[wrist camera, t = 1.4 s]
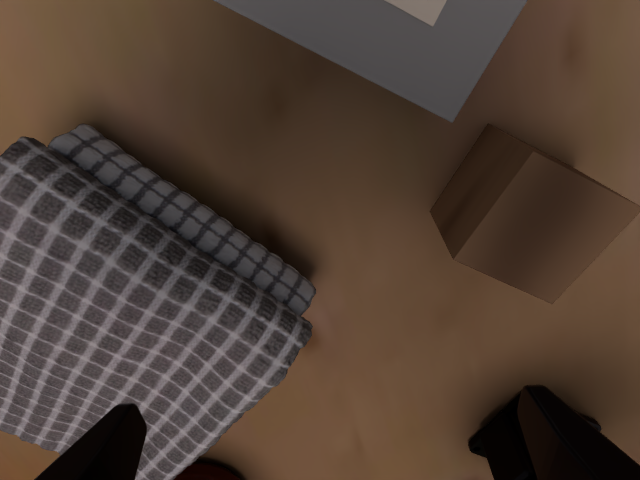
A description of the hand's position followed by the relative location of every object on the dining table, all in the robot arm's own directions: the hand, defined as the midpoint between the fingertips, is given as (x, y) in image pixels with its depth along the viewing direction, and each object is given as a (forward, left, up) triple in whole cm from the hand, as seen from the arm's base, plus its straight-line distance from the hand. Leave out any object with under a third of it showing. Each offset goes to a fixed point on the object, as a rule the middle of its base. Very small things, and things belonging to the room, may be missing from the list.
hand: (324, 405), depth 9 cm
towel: (+8, +12, -13) cm, 19 cm away
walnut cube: (-7, -4, -13) cm, 15 cm away
